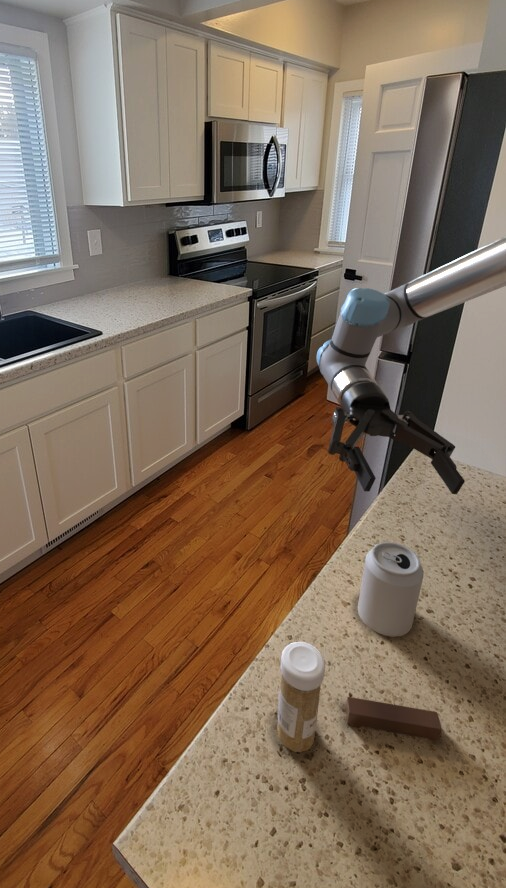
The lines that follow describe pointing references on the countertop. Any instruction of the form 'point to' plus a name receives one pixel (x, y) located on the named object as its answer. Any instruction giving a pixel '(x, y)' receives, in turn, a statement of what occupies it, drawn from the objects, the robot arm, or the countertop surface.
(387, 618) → the can
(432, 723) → the bar
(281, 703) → the sprinkles bottle
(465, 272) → the robot arm
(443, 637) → the countertop surface
